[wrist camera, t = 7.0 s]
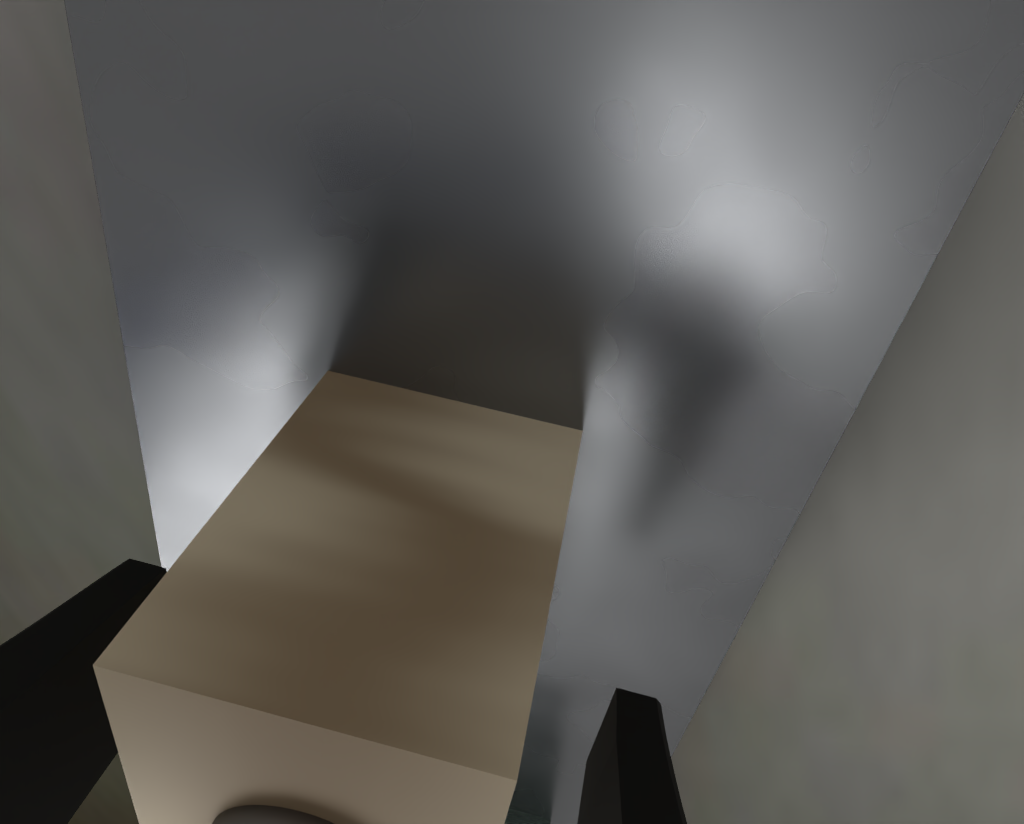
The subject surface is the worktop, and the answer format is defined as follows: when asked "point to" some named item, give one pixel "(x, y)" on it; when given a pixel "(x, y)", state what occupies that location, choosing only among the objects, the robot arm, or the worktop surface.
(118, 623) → the robot arm
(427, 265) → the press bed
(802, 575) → the worktop surface
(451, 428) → the block
